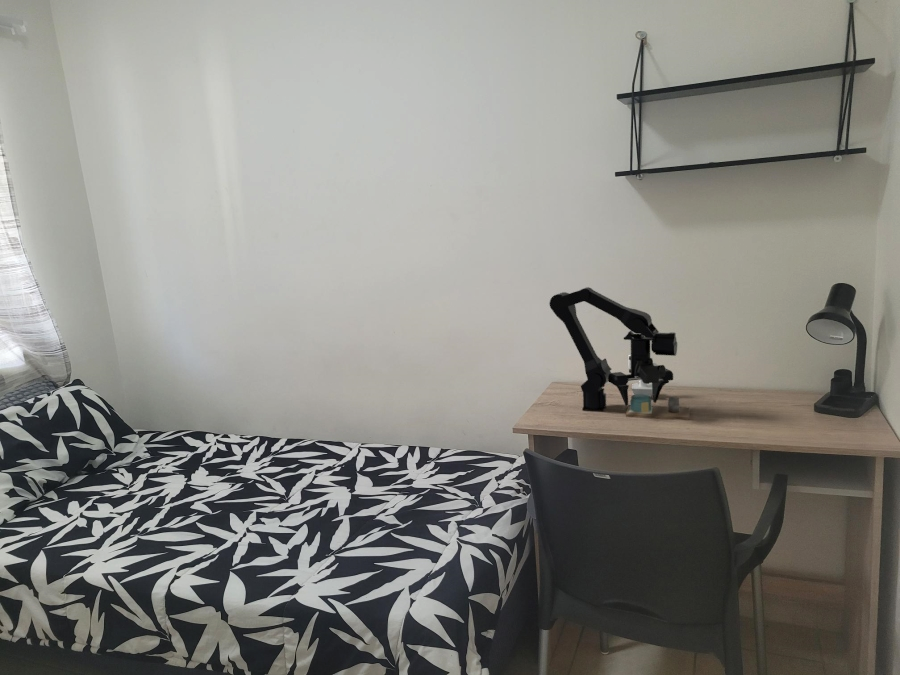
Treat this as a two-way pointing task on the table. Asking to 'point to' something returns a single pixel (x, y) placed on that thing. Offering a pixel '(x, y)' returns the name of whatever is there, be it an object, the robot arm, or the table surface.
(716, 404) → the table surface
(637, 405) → the cap
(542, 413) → the table surface
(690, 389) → the table surface
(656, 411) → the board
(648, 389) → the figurine
